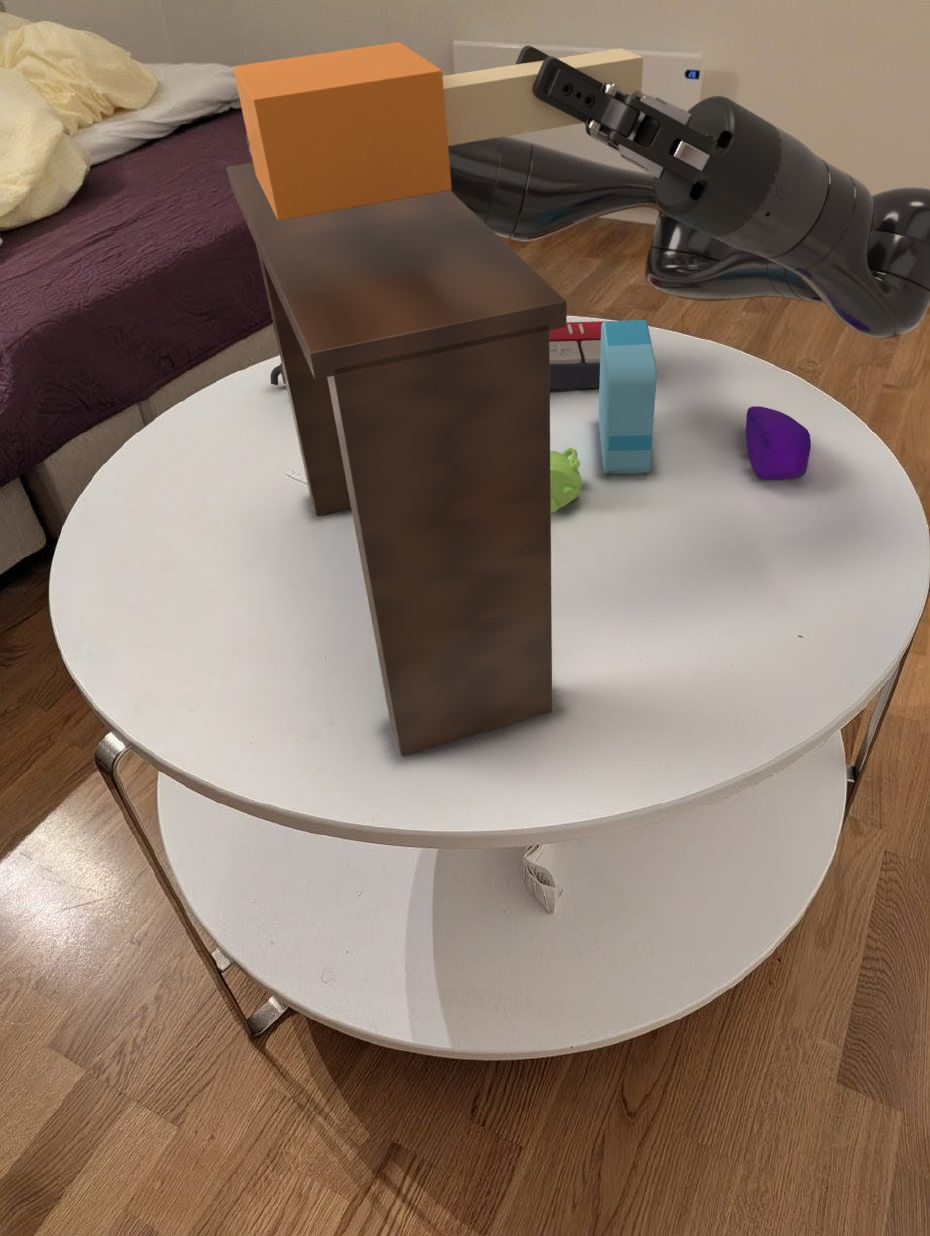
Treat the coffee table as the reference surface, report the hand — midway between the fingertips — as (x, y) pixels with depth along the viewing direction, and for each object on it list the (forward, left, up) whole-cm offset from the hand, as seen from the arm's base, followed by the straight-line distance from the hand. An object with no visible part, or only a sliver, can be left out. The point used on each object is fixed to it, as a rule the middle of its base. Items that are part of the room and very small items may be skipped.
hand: (529, 69), depth 54 cm
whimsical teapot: (-5, +13, -41) cm, 43 cm away
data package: (-2, +25, -41) cm, 48 cm away
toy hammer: (-3, -3, -4) cm, 7 cm away
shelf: (-11, -4, -40) cm, 42 cm away
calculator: (-15, +39, -41) cm, 58 cm away
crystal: (+13, +29, -41) cm, 51 cm away
